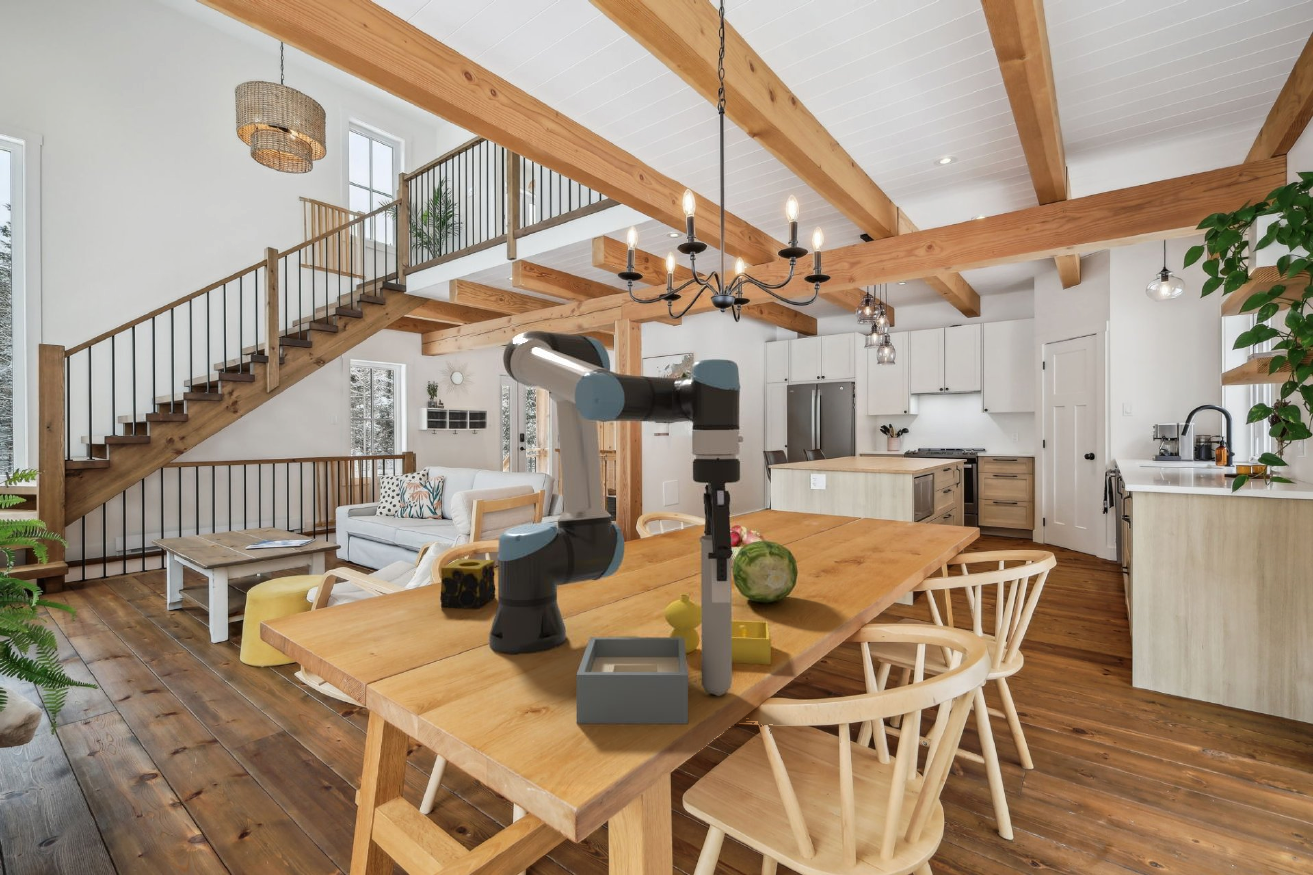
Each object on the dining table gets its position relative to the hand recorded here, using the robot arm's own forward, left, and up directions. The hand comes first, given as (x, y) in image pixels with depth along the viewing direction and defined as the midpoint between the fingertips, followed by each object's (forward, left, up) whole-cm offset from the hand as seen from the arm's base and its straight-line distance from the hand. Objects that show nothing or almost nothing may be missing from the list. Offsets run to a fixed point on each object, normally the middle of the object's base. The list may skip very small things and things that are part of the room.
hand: (717, 590), depth 95 cm
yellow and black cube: (-57, +52, -17) cm, 79 cm away
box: (-13, -2, -17) cm, 21 cm away
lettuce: (+16, +51, -17) cm, 56 cm away
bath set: (+1, +19, -17) cm, 25 cm away
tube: (0, 0, -17) cm, 17 cm away
